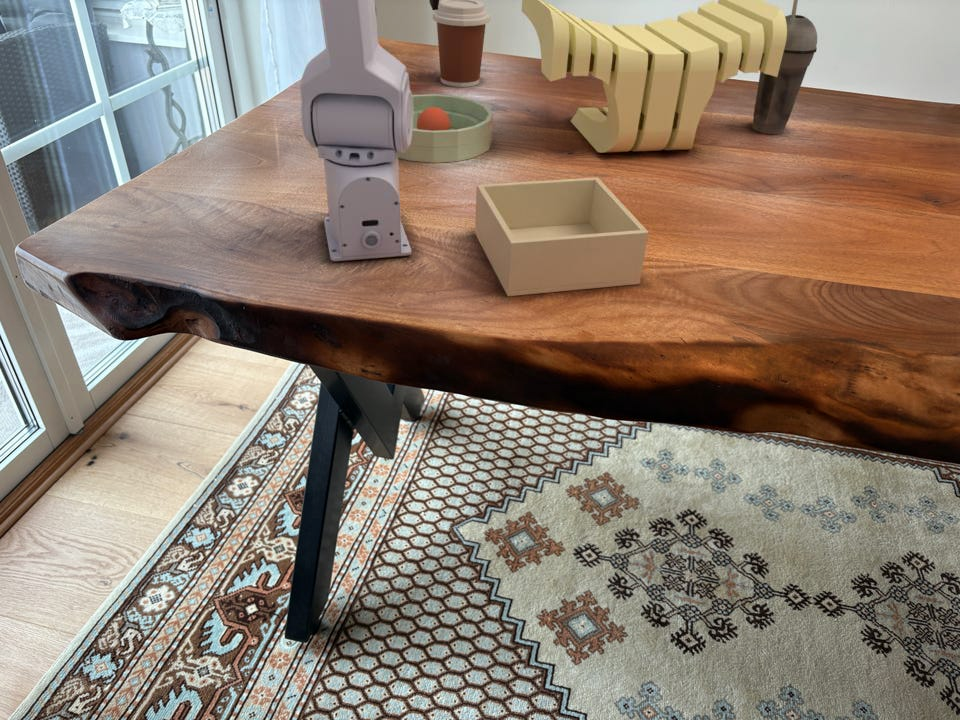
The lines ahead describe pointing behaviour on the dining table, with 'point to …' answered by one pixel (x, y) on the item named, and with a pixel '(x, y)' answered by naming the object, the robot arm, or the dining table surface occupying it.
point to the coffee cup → (460, 40)
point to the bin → (558, 236)
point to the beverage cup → (785, 76)
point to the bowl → (462, 139)
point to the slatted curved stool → (657, 67)
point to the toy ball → (433, 120)
